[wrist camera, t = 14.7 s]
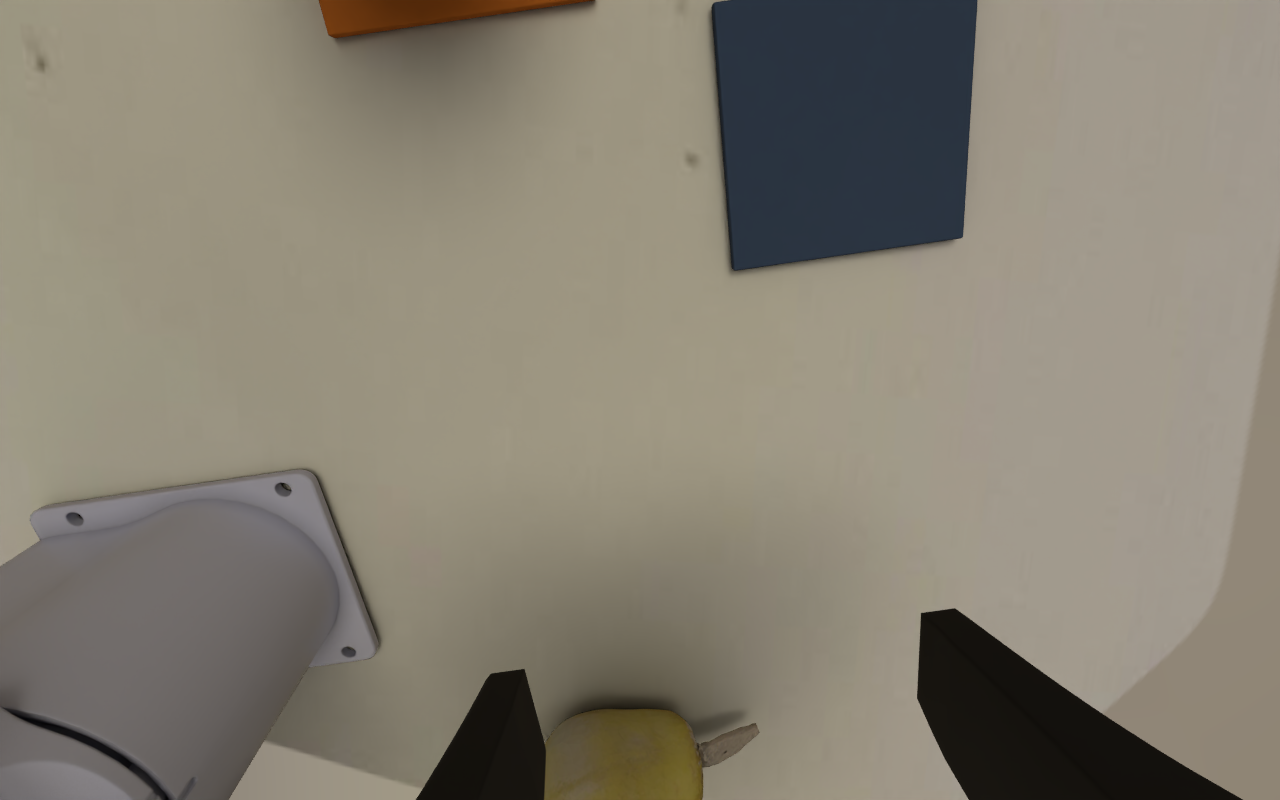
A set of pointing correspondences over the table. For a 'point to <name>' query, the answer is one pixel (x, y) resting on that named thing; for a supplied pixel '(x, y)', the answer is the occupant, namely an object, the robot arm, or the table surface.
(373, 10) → the amber mat
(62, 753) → the robot arm
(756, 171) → the blue mat
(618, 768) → the fruit
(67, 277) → the table surface
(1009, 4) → the table surface
